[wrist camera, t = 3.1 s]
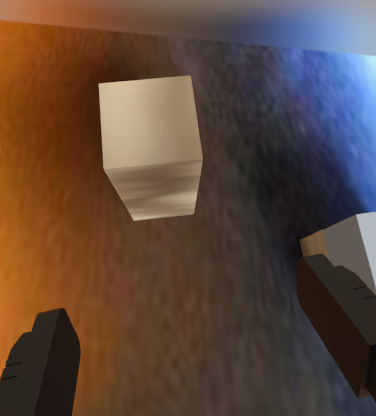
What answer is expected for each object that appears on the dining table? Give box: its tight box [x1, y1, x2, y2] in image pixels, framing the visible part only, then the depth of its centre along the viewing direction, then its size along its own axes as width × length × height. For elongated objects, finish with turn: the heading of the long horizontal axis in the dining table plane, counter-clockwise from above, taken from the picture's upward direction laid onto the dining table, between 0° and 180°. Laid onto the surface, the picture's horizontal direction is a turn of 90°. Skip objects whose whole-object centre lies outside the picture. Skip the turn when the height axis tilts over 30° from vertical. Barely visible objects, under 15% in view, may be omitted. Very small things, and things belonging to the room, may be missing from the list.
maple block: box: [99, 75, 203, 221], centre depth 20 cm, size 4×4×10 cm
